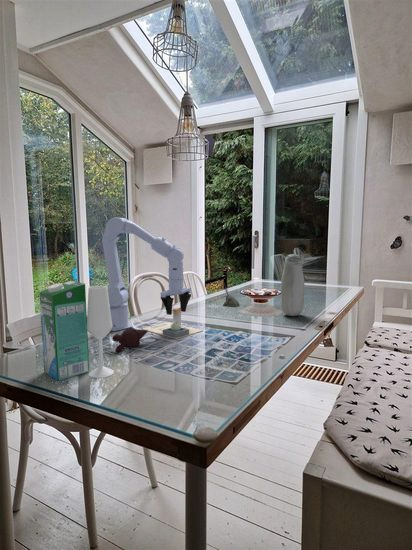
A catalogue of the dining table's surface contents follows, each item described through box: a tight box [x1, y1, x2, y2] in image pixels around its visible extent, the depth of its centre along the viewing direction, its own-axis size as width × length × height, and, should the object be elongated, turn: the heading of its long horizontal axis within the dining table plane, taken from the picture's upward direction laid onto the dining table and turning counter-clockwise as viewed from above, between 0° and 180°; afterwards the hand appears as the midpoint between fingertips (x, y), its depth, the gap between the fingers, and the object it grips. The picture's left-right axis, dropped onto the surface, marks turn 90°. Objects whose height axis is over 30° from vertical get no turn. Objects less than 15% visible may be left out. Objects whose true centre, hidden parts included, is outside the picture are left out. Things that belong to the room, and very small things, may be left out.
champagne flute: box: [86, 285, 115, 379], centre depth 103 cm, size 7×7×24 cm
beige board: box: [141, 321, 204, 340], centre depth 148 cm, size 14×20×1 cm
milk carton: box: [38, 280, 90, 382], centre depth 103 cm, size 9×9×25 cm
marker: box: [172, 307, 182, 325], centre depth 150 cm, size 3×3×8 cm
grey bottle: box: [280, 253, 305, 317], centre depth 170 cm, size 10×10×28 cm
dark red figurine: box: [112, 327, 149, 353], centre depth 127 cm, size 7×7×15 cm
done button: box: [171, 324, 182, 332], centre depth 141 cm, size 4×4×3 cm
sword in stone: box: [222, 282, 241, 308], centre depth 195 cm, size 10×8×12 cm
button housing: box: [162, 327, 189, 339], centre depth 141 cm, size 7×7×2 cm
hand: (176, 312), depth 150 cm, fingers open, 7 cm apart
